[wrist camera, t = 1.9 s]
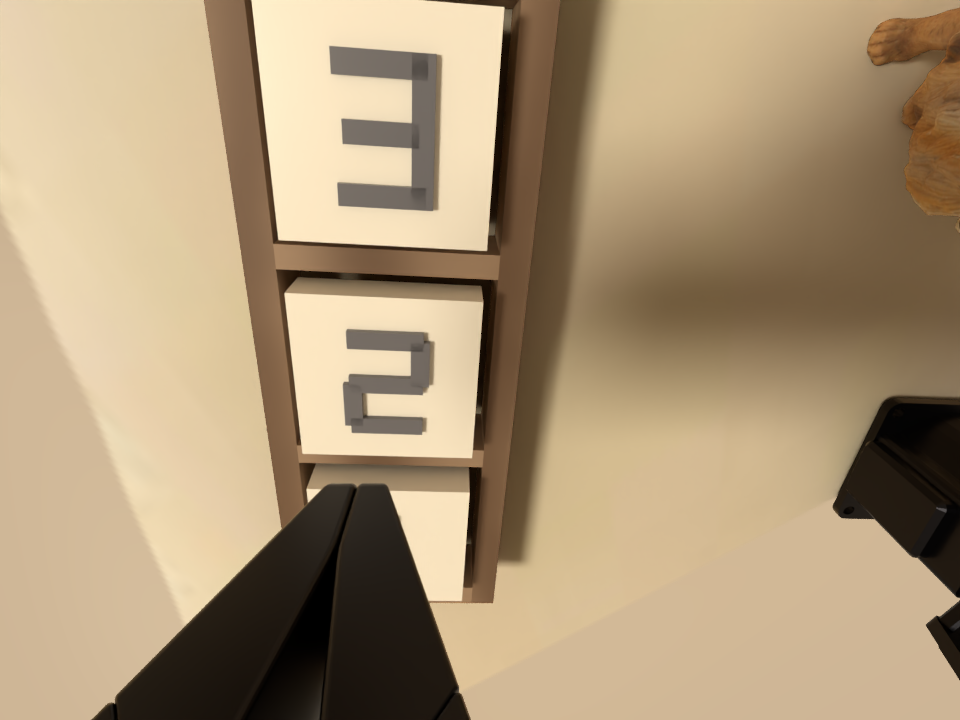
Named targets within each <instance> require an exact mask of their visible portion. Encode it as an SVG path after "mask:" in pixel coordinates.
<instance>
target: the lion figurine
mask: <svg viewBox="0 0 960 720" xmlns="http://www.w3.org/2000/svg"><path fill="white" fill-rule="evenodd" d="M930 50H947V51H946V56H945V58H944V59H943V60H942V61H941V63H940V64H939V65H938V66H936V67H935V68H933V69H932V70H931V71H930V72H929V73H928V75H927V78H926V80H925V81H924V83H923V84H922V85H921V86H920V87H919V88H918V89H917V91H916V92H915V94H914V95H913V96H912V97H911V98H910V99H909V100H908V101H907V103H906V104H905V106H904V107H903V114H902V122H903V123H904V124H907V125H908V126H909V127H910V128H911V129H913V133H912V136H911V139H910V141H909V147H910V149H909V152H908V153H909V156H910V160H909V163H908V164H907V166H906V167H905V168H904V173H905V176H906V181H907V182H906V189H907V190H908V191H909V192H910V193H911V195H912V198H913V200H914V202H915V203H916V204H917V205H918V206H919V207H920V208H921V209H922V210H923V211H924V212H925V213H926V214H927V215H930V216H931V215H947V216H955V217H960V8H957V9H953V10H949V11H946V12H943V13H940V14H938V15H934V16H930V17H925V18H917V19H902V18H897V19H889V20H887V21H885V22H883V23H881V24H880V25H878V27H877V28H876V30H875V31H874V33H873V34H872V36H871V37H870V40H869V43H868V48H867V53H868V55H869V57H870V58H871V61H872V62H873V63H874V64H875V65H882V64H885V63H888V62H891V61H893V60H897V61H904V60H909V59H911V58H913V57H915V56H918V55H920V54H921V53H924V52H927V51H930ZM956 230H957V231H958V233H960V218H959V219H958V221H957V223H956Z"/></svg>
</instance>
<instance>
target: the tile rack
mask: <svg viewBox="0 0 960 720" xmlns="http://www.w3.org/2000/svg"><path fill="white" fill-rule="evenodd" d="M425 1H437V2H449V3H461V4H473V5H485V6H497V7H504V8H505V9H513V11H512V23H511V36H510V49H509V62H508V75H507V88H506V101H505V114H504V127H503V139H502V152H501V165H500V178H499V191H498V204H497V217H496V230H495V236H488V244H487V251H476V250H457V249H438V248H419V247H400V246H381V245H361V244H342V243H323V242H304V241H285V240H278V232H277V223H276V214H275V205H274V197H273V188H272V179H271V170H270V161H269V152H268V143H267V134H266V126H265V117H264V108H263V99H262V90H261V81H260V72H259V63H258V55H257V46H256V37H255V28H254V19H253V10H252V1H251V0H204V4H205V11H206V17H207V24H208V31H209V38H210V45H211V51H212V58H213V65H214V72H215V79H216V85H217V92H218V99H219V106H220V113H221V119H222V126H223V133H224V140H225V147H226V153H227V160H228V167H229V174H230V181H231V187H232V194H233V201H234V208H235V215H236V221H237V228H238V235H239V242H240V249H241V255H242V262H243V269H244V276H245V283H246V289H247V296H248V303H249V310H250V317H251V323H252V330H253V337H254V344H255V350H256V357H257V364H258V371H259V378H260V384H261V391H262V398H263V405H264V412H265V418H266V425H267V432H268V439H269V446H270V452H271V459H272V466H273V473H274V480H275V486H276V493H277V500H278V507H279V514H280V520H281V527H282V528H283V527H284V526H285V525H286V524H287V523H288V522H289V521H290V520H291V519H292V518H293V517H294V516H295V515H296V514H297V513H298V512H299V511H300V510H301V509H302V508H303V507H304V506H305V505H306V504H307V503H308V498H307V486H308V484H309V481H310V478H311V476H312V473H313V470H314V468H315V465H316V463H332V464H371V465H411V466H450V467H477V474H476V487H475V500H474V513H473V526H472V539H471V545H466V551H465V565H464V579H463V593H462V601H429V603H493V598H494V589H495V580H496V572H497V563H498V554H499V545H500V536H501V527H502V518H503V509H504V500H505V491H506V482H507V473H508V464H509V455H510V446H511V437H512V428H513V420H514V411H515V402H516V393H517V384H518V375H519V366H520V357H521V348H522V339H523V330H524V321H525V312H526V303H527V294H528V285H529V276H530V268H531V259H532V250H533V241H534V232H535V223H536V214H537V205H538V196H539V187H540V178H541V169H542V160H543V151H544V142H545V133H546V124H547V116H548V107H549V98H550V89H551V80H552V71H553V62H554V53H555V44H556V35H557V26H558V17H559V8H560V0H425ZM300 270H303V271H324V272H344V273H365V274H385V275H406V276H426V277H447V278H467V279H487V280H492V281H491V294H490V307H489V320H488V333H487V346H486V358H485V371H484V384H483V397H482V410H481V415H479V414H475V425H474V439H473V453H472V458H441V457H404V456H366V455H328V454H302V445H301V436H300V427H299V418H298V410H297V401H296V392H295V383H294V374H293V365H292V356H291V347H290V339H289V330H288V321H287V312H286V303H285V294H284V293H285V292H286V290H287V289H288V288H289V287H290V286H291V285H292V283H293V282H294V281H295V280H296V279H297V278H298V277H300Z"/></svg>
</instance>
